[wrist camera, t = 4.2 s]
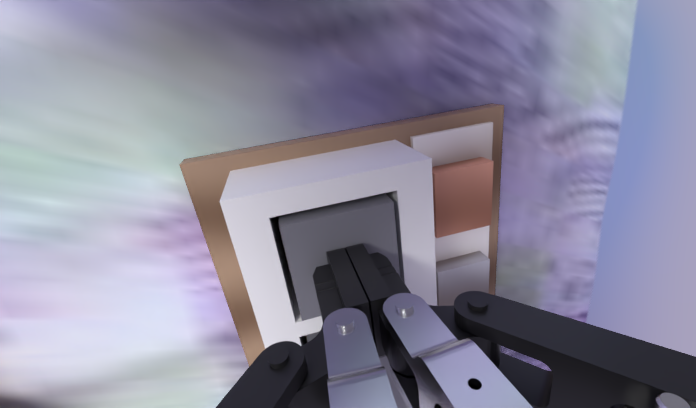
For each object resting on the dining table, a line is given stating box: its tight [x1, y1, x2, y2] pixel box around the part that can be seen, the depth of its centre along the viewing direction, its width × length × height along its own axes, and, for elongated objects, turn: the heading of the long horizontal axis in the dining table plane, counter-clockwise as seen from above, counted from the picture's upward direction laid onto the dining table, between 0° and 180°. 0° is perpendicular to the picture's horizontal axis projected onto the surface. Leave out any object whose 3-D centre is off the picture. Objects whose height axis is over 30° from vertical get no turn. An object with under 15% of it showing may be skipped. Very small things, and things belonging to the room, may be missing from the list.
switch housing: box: [220, 140, 437, 349], centre depth 18 cm, size 19×8×4 cm, turn 8°
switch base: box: [180, 104, 504, 367], centre depth 20 cm, size 20×16×2 cm
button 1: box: [278, 193, 400, 321], centre depth 15 cm, size 4×4×4 cm
